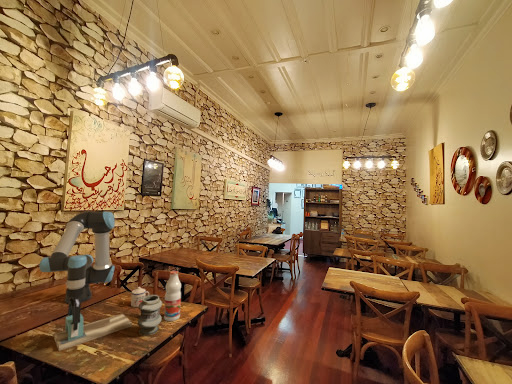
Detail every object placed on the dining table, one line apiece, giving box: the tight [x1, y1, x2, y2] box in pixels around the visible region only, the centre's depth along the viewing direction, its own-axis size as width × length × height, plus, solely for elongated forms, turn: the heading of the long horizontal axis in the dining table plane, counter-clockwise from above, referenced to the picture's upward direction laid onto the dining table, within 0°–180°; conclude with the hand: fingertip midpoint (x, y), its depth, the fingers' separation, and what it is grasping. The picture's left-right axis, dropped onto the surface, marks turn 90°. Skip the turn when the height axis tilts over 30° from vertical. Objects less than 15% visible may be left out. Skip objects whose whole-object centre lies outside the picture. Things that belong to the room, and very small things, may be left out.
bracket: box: [64, 312, 84, 341], centre depth 119 cm, size 8×6×9 cm
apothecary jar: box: [137, 294, 163, 337], centre depth 129 cm, size 12×12×18 cm
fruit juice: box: [163, 270, 182, 322], centre depth 145 cm, size 9×9×28 cm
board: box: [53, 313, 133, 352], centre depth 126 cm, size 15×32×5 cm, turn 138°
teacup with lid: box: [130, 286, 150, 308], centre depth 162 cm, size 12×9×12 cm
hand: (72, 332), depth 118 cm, fingers closed on bracket, 7 cm apart
